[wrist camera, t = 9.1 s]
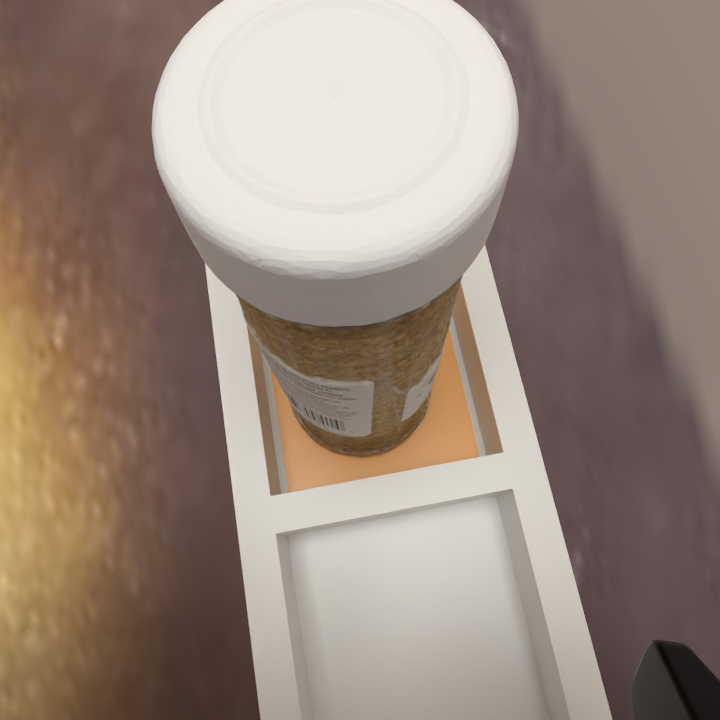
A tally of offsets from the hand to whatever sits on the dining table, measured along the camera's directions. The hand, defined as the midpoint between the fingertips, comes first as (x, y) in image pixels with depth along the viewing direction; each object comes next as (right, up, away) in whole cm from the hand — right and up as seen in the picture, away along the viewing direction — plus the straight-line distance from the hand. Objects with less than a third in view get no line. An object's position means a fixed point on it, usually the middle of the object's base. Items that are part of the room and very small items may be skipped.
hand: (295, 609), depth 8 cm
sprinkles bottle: (+1, +2, +12) cm, 12 cm away
